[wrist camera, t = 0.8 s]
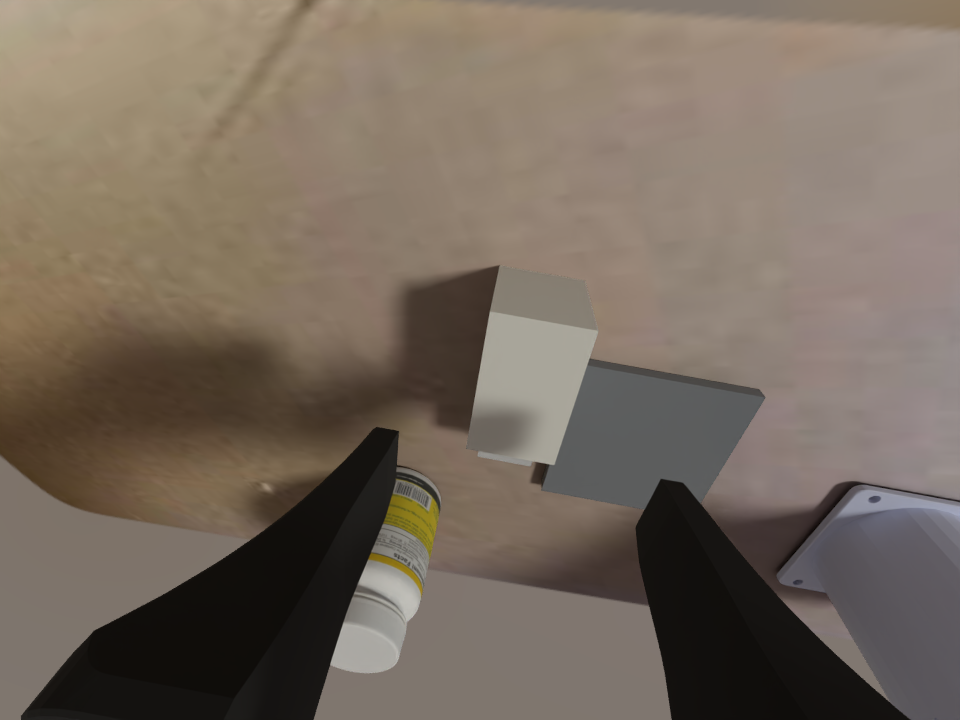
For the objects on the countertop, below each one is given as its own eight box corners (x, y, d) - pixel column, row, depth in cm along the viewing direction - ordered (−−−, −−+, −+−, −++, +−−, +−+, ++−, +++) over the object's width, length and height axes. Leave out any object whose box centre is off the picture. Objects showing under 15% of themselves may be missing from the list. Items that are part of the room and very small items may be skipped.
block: (585, 279, 18) (598, 331, 14) (542, 427, 22) (543, 497, 18) (499, 264, 18) (489, 311, 14) (473, 414, 22) (460, 482, 18)
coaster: (759, 389, 19) (765, 397, 19) (687, 508, 24) (691, 518, 23) (580, 357, 19) (581, 364, 19) (541, 481, 24) (541, 490, 23)
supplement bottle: (375, 522, 27) (318, 676, 20) (350, 466, 25) (276, 618, 17) (450, 519, 26) (419, 680, 19) (432, 461, 24) (389, 619, 17)
